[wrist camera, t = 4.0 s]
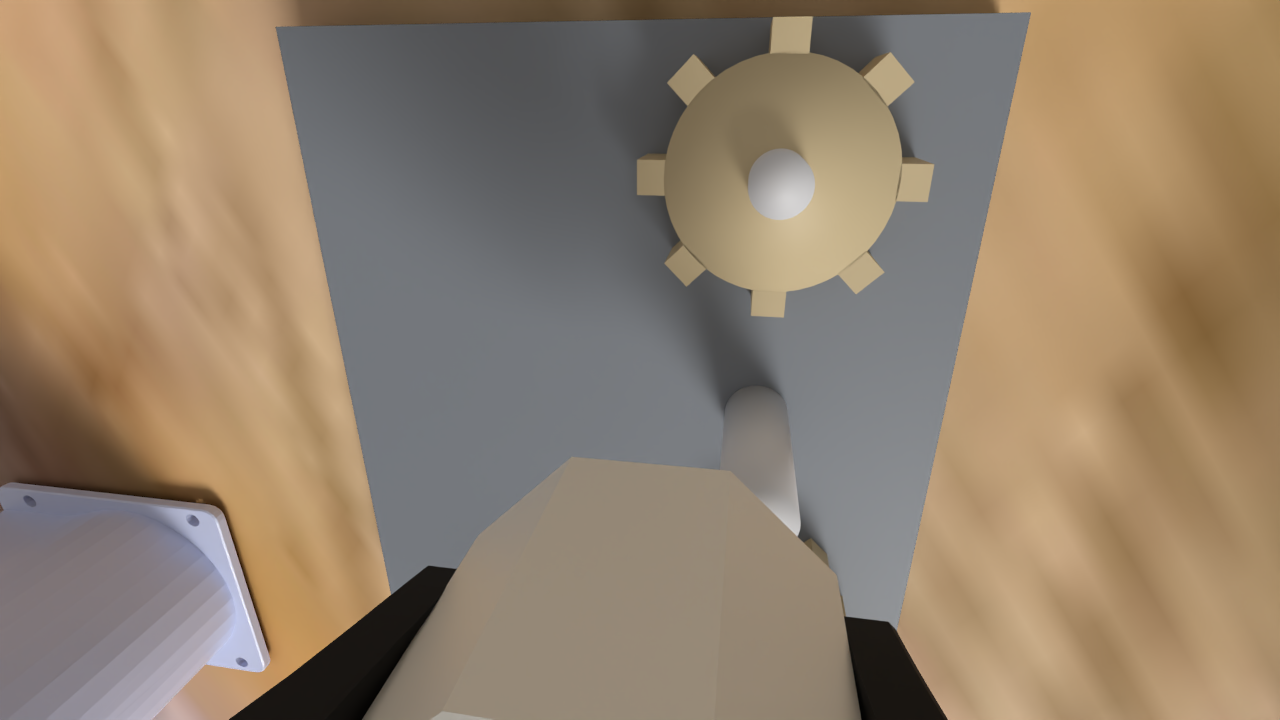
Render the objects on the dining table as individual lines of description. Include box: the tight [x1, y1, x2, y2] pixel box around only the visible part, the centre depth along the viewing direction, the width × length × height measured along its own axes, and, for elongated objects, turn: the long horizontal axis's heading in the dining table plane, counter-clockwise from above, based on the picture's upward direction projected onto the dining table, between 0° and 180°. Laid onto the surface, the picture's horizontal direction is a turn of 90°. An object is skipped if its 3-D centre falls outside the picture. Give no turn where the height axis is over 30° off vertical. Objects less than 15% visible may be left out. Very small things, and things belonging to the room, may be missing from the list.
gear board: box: [276, 13, 1031, 631], centre depth 15 cm, size 16×18×6 cm
